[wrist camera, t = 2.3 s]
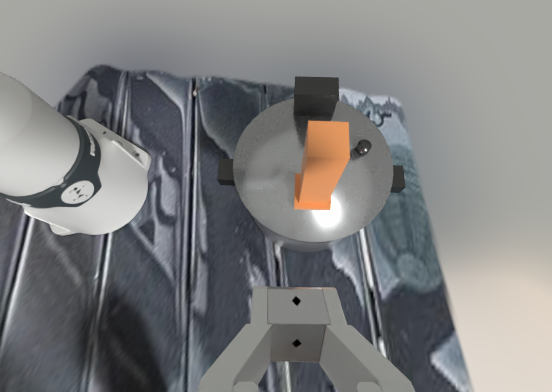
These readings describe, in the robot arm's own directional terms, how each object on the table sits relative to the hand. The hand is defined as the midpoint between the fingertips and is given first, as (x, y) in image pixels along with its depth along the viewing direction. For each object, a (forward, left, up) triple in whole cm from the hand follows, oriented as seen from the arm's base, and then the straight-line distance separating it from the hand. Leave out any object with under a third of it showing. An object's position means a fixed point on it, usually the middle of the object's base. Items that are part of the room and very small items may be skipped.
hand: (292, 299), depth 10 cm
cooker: (-8, +13, -32) cm, 35 cm away
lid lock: (-5, +10, -19) cm, 22 cm away
